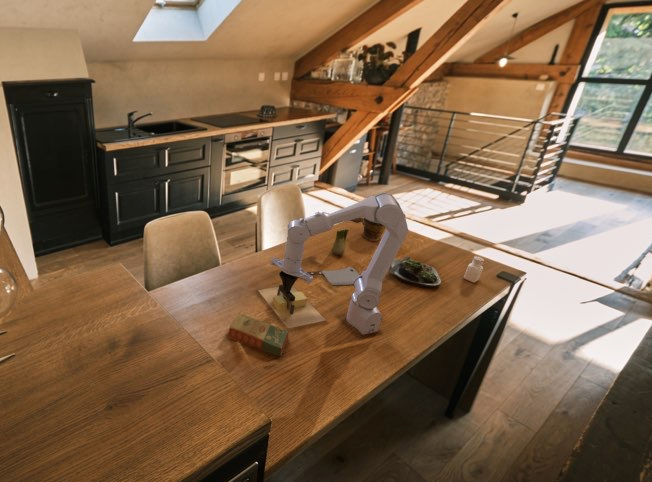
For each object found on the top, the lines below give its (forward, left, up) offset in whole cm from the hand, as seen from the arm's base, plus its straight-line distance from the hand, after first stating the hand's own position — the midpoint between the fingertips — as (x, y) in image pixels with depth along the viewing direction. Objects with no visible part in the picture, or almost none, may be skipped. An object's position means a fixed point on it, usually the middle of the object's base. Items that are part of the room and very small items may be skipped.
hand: (287, 291), depth 127 cm
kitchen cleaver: (+11, -27, -7) cm, 30 cm away
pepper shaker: (-4, -80, -7) cm, 81 cm away
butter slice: (0, +2, -6) cm, 6 cm away
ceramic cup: (+35, -66, -7) cm, 75 cm away
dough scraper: (0, 0, -6) cm, 6 cm away
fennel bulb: (+25, -41, -7) cm, 49 cm away
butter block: (0, -4, -6) cm, 7 cm away
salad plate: (+4, -60, -7) cm, 61 cm away
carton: (-11, +16, -7) cm, 21 cm away
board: (0, -2, -7) cm, 7 cm away
